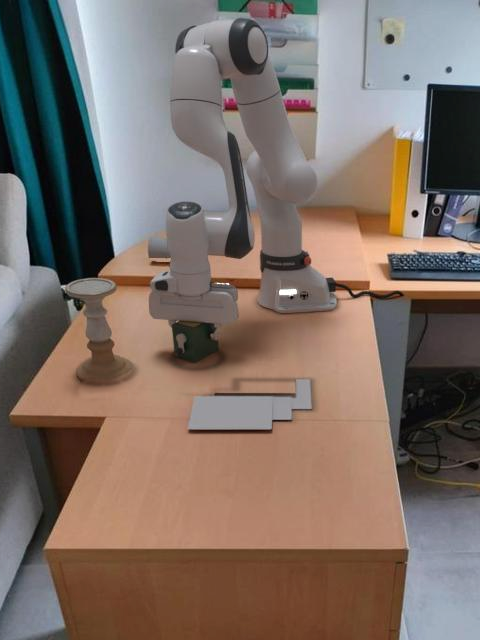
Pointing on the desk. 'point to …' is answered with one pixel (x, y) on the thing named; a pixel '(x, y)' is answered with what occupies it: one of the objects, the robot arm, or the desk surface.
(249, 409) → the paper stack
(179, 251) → the robot arm
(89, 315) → the candle holder
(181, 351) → the sharpener
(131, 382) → the desk surface
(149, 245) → the grey cylinder
